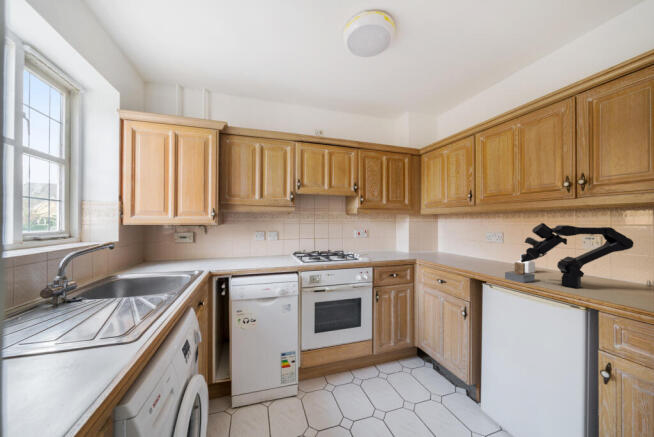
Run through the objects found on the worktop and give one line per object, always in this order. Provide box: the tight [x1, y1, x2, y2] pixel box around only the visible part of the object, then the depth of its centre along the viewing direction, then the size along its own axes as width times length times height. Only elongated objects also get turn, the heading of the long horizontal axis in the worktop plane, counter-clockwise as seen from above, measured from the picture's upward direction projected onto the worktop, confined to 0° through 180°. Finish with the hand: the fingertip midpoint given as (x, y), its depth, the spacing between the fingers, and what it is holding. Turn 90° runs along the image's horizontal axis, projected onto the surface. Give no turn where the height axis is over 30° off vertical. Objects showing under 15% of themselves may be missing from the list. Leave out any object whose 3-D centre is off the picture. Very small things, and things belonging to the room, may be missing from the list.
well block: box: [504, 270, 535, 284], centre depth 146 cm, size 10×10×4 cm
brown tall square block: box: [513, 261, 525, 275], centre depth 146 cm, size 4×4×10 cm
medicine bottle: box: [516, 253, 536, 274], centre depth 169 cm, size 7×7×12 cm
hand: (523, 260), depth 145 cm, fingers open, 9 cm apart
